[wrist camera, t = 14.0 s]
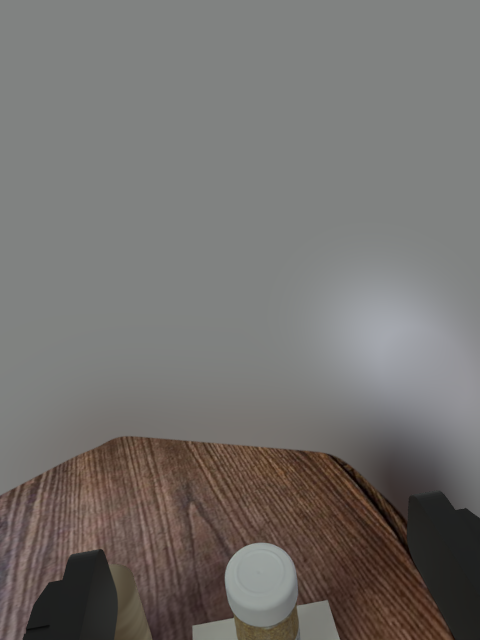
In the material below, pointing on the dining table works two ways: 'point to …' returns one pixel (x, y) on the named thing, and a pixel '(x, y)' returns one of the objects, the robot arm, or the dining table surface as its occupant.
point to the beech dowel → (129, 607)
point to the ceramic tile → (313, 623)
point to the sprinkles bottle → (263, 593)
